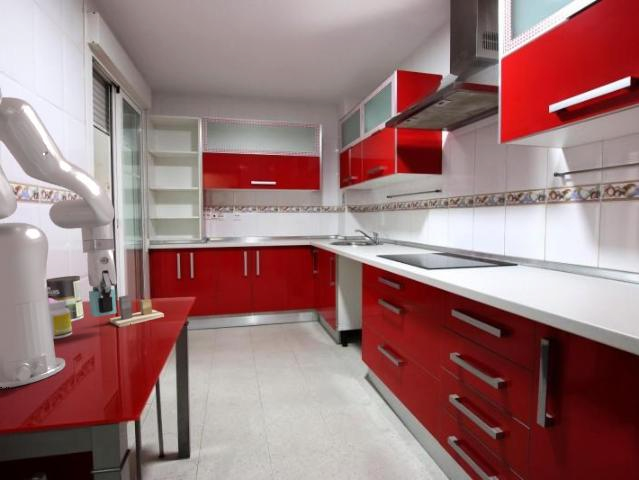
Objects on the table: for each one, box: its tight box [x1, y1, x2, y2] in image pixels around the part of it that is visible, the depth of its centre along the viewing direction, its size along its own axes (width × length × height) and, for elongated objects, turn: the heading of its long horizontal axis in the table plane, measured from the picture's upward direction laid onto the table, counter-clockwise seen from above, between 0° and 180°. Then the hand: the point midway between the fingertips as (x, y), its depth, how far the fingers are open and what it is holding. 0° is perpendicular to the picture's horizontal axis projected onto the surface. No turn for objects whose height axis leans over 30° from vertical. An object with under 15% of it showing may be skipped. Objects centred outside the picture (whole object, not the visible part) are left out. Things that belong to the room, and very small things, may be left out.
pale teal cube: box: [88, 288, 117, 318], centre depth 101 cm, size 5×5×7 cm
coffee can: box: [46, 275, 85, 323], centre depth 120 cm, size 10×10×14 cm
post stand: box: [109, 294, 165, 328], centre depth 114 cm, size 10×13×8 cm
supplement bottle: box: [49, 301, 73, 340], centre depth 101 cm, size 5×5×10 cm
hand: (103, 310), depth 101 cm, fingers closed on pale teal cube, 5 cm apart
